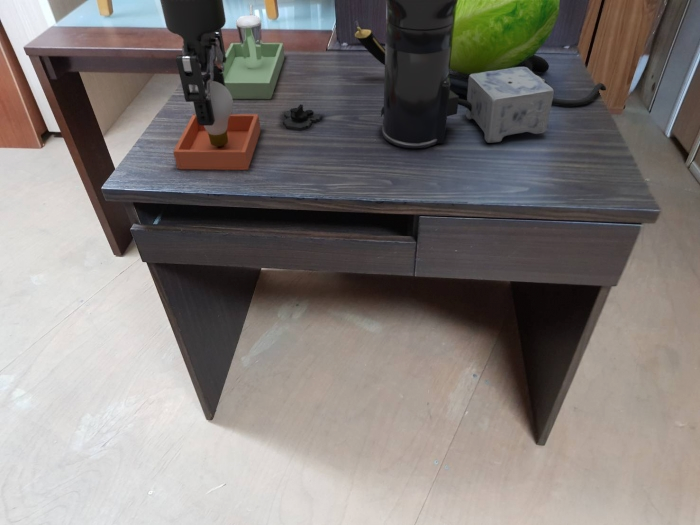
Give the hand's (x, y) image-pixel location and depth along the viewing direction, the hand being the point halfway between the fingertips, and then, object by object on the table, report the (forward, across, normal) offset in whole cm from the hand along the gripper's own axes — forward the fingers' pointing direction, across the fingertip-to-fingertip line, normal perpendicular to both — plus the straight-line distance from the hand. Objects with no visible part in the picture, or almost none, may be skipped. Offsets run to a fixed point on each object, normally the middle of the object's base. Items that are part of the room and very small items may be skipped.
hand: (213, 110), depth 79 cm
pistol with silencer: (-3, +18, -29) cm, 34 cm away
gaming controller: (+6, +24, -50) cm, 56 cm away
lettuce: (-3, +14, -42) cm, 44 cm away
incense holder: (+7, +8, -43) cm, 45 cm away
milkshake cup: (+6, +30, 0) cm, 31 cm away
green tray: (+6, +26, 0) cm, 27 cm away
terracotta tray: (+6, 0, 0) cm, 6 cm away
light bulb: (+6, 0, 0) cm, 6 cm away
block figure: (+7, +9, -11) cm, 16 cm away
